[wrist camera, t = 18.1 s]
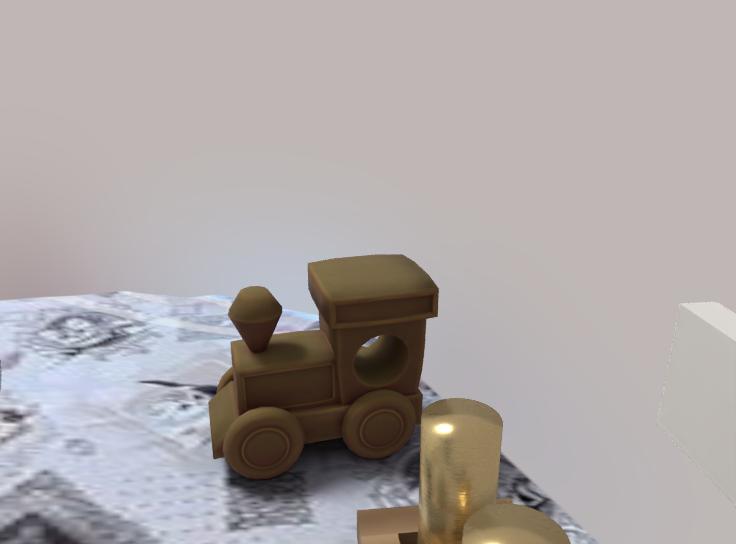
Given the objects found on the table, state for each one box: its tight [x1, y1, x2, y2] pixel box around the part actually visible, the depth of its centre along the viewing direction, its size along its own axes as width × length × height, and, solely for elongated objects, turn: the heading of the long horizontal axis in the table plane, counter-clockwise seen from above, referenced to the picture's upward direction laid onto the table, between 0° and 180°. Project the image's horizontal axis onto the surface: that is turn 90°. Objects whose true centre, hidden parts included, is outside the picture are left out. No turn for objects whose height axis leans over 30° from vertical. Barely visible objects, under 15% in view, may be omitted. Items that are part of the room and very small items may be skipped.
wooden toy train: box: [208, 255, 439, 479], centre depth 58 cm, size 20×11×17 cm, turn 106°
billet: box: [418, 398, 503, 544], centre depth 41 cm, size 5×5×14 cm
